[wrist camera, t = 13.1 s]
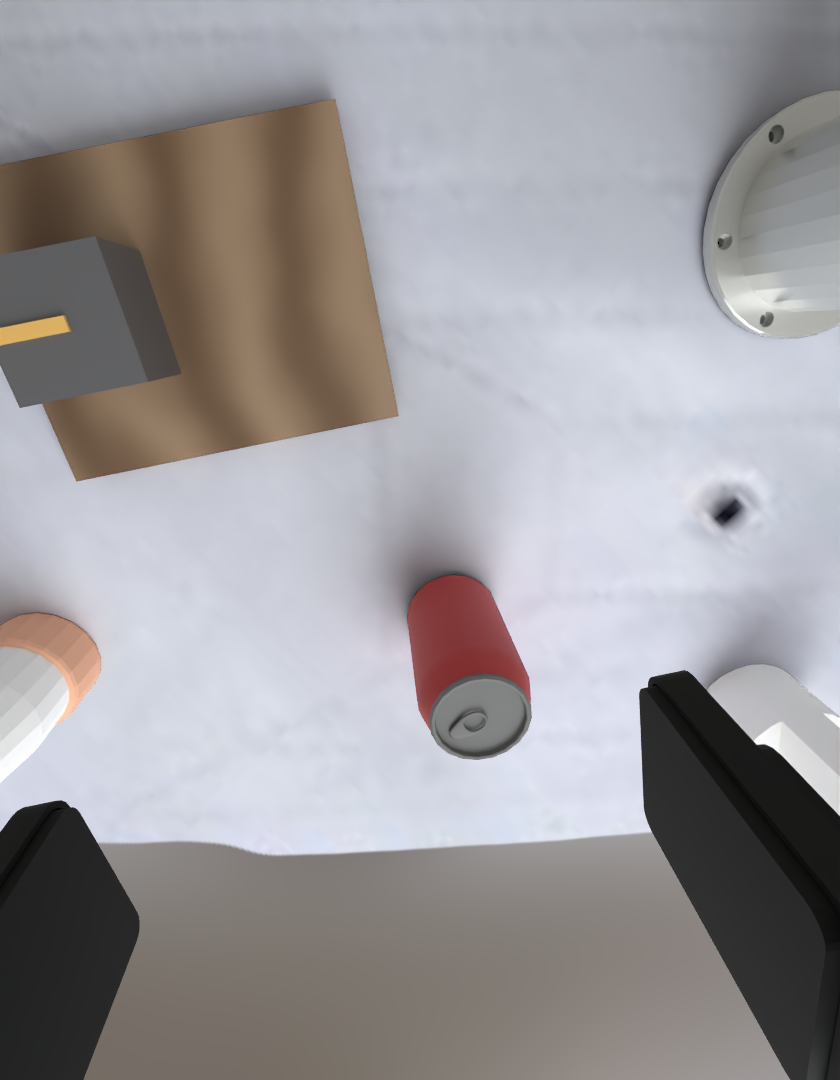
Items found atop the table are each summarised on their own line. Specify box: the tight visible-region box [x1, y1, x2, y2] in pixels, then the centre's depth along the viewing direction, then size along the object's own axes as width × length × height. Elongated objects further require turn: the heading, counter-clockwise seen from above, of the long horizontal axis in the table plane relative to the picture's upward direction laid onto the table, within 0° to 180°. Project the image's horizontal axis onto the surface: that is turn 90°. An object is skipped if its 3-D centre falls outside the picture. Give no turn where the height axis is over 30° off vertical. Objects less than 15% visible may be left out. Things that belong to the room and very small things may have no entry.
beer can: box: [407, 575, 532, 760], centre depth 35 cm, size 7×7×12 cm
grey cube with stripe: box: [0, 236, 181, 408], centre depth 28 cm, size 6×6×5 cm
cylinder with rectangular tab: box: [707, 664, 840, 816], centre depth 40 cm, size 9×9×12 cm
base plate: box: [0, 99, 398, 481], centre depth 31 cm, size 20×16×2 cm
